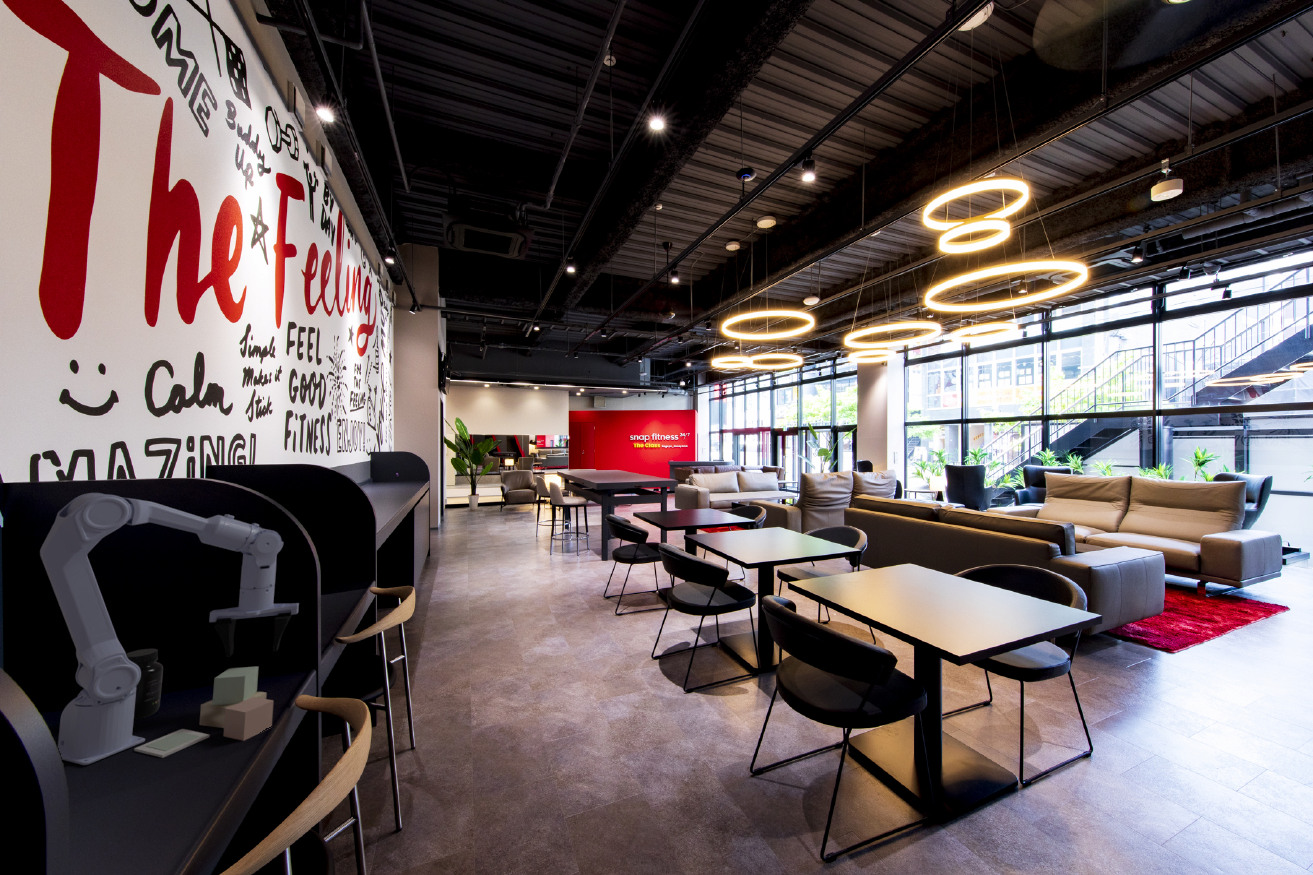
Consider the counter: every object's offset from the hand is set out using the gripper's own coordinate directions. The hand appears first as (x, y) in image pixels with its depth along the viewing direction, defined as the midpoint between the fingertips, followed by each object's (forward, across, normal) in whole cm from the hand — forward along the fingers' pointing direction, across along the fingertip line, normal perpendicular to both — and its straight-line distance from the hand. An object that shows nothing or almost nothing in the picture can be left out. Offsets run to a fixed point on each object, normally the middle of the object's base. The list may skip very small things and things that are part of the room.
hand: (252, 652), depth 105 cm
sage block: (+7, -1, -6) cm, 9 cm away
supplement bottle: (+11, -18, +4) cm, 22 cm away
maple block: (+11, -1, -6) cm, 12 cm away
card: (+10, -8, -13) cm, 19 cm away
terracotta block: (+10, +2, -13) cm, 17 cm away
